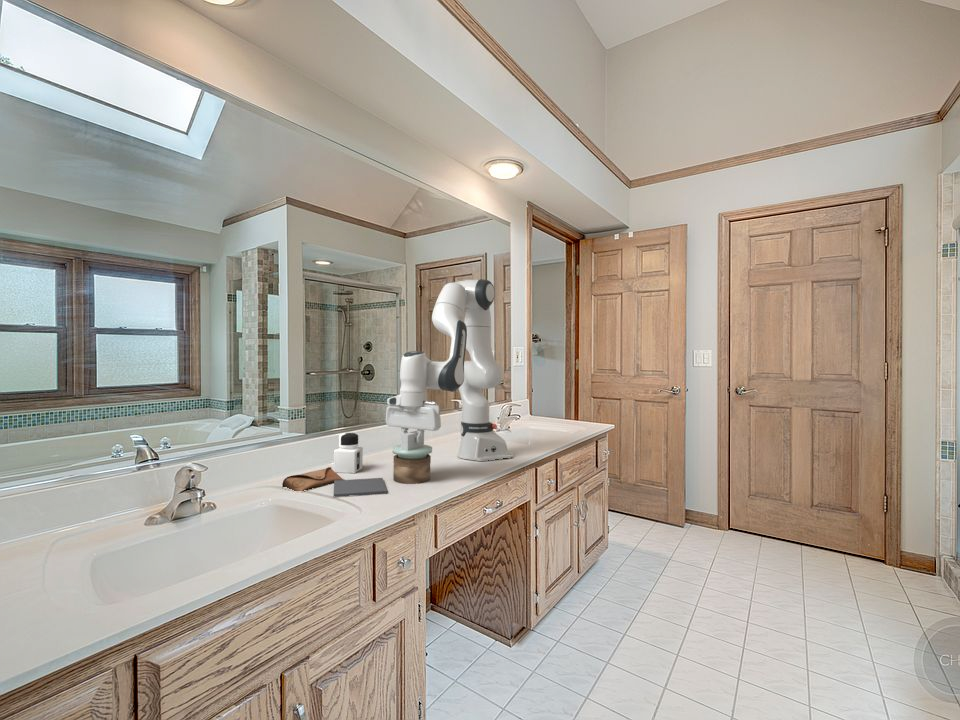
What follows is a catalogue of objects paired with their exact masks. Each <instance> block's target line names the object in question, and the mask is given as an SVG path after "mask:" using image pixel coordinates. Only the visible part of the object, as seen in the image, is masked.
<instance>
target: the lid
mask: <svg viewBox="0 0 960 720" xmlns="http://www.w3.org/2000/svg"><path fill="white" fill-rule="evenodd" d="M417 435H418V432H417V430H414V431H410V432H408V433H405V434H403V433H401V434H400V445H399V444H398V445H395V446H393V447H392V453H393V454H394V455H398V458H400V459H406V460H417V459H424V458H426V457H427V454H429V455H430V454H431V453H433V446H431V445H428V444H425V433H424V434H423V435H422V437H421V442H420V443H415V437H417Z"/></svg>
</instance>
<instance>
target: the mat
mask: <svg viewBox="0 0 960 720" xmlns="http://www.w3.org/2000/svg"><path fill="white" fill-rule="evenodd" d="M370 494H371V495H370ZM372 494H374V495H383V494H384V495H386V494H388V490H387V487H386V484H385V481H384V478H383V477H373V478H372V477H371V478H357V479H354V478H353V479H344V480H336V481H334V483H333V497H334V496H345V497H350V496H349V495H359V496H372Z"/></svg>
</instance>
